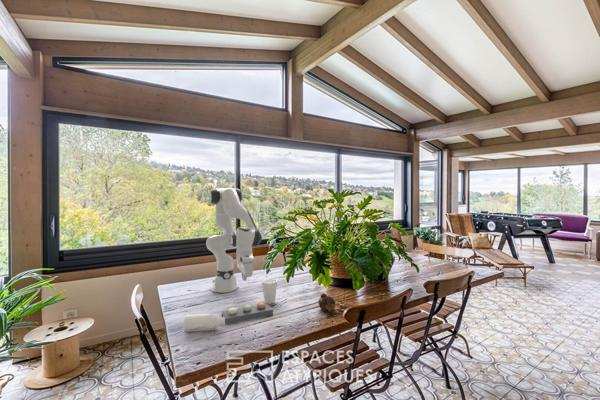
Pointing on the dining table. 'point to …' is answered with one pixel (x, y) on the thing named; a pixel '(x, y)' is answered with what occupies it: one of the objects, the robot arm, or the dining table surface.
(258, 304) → the orange rounded lump
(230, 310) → the white round dome
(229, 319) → the console
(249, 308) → the sage button
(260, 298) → the dining table surface
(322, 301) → the decorative turtle
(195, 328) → the white plastic bottle
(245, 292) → the dining table surface
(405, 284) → the dining table surface
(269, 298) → the foam cup
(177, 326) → the dining table surface
